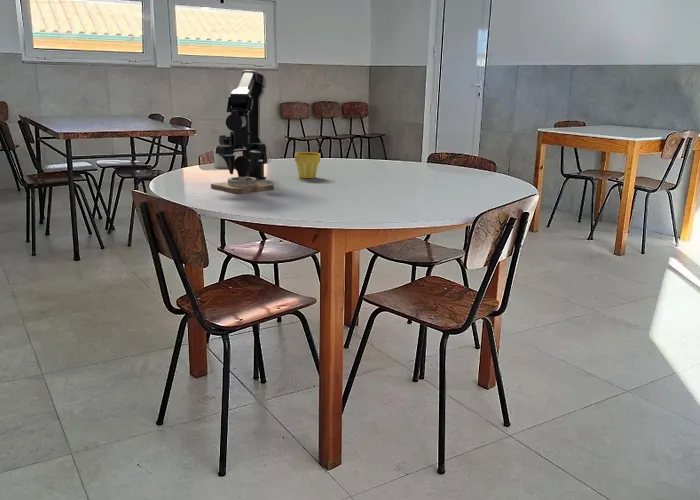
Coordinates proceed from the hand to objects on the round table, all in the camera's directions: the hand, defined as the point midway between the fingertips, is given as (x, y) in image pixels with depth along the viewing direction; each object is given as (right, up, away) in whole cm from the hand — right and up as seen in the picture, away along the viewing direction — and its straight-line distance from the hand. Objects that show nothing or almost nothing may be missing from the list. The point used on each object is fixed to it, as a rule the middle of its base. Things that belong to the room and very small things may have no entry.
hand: (242, 172), depth 225 cm
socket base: (0, -5, +2) cm, 6 cm away
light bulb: (0, -4, +1) cm, 4 cm away
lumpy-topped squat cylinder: (-17, +10, +58) cm, 61 cm away
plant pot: (+22, +2, +30) cm, 37 cm away
